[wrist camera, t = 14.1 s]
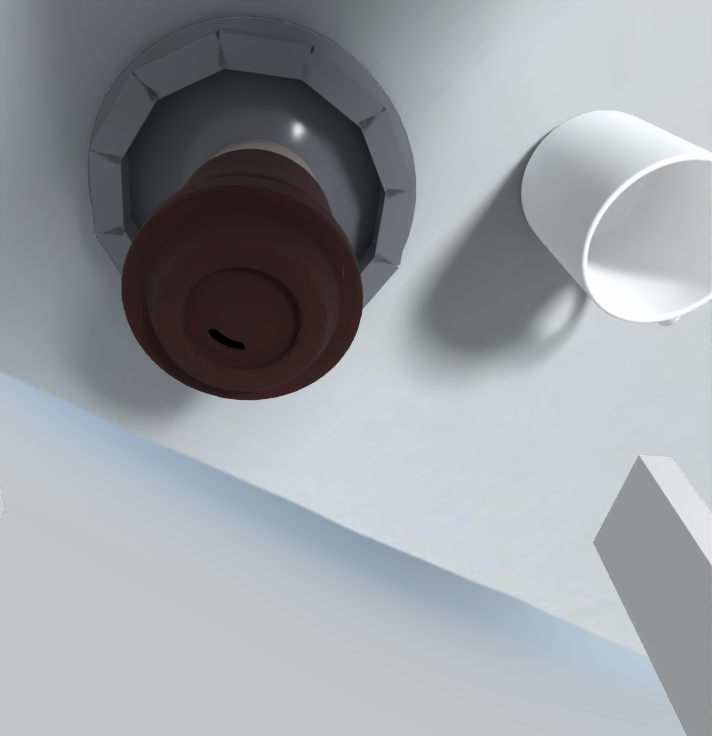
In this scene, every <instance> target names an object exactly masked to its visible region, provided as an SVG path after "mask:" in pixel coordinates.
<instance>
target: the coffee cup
mask: <svg viewBox="0 0 712 736" xmlns="http://www.w3.org/2000/svg"><path fill="white" fill-rule="evenodd" d="M122 302H123V306H124V310H125V314H126V317H127V320H128V323H129V325H130V328H131V330H132V332H133V334H134V336H135V338H136V339H137V341H138V343H139V344H140V346H141V347H142V348H143V350H144V351H145V352H146V354H147V355H148V356H149V357H150V358H151V359H152V360H153V361H154V362H155V363H156V364H157V365H158V366H159V367H160V368H161V369H163V370H164V371H165V372H166V373H168V374H169V375H170V376H172V377H173V378H175V379H177V380H178V381H180V382H181V383H183V384H185V385H187V386H189V387H191V388H194V389H196V390H199V391H201V392H204V393H207V394H211V395H215V396H218V397H222V398H228V399H236V400H261V399H268V398H275V397H279V396H283V395H286V394H290V393H293V392H296V391H298V390H300V389H302V388H304V387H306V386H308V385H310V384H312V383H314V382H315V381H317V380H318V379H320V378H321V377H323V376H324V375H325V374H326V373H328V372H329V371H330V370H331V369H332V368H333V367H334V366H335V365H336V364H337V363H338V362H339V361H340V360H341V358H342V357H343V356H344V354H345V353H346V351H347V350H348V349H349V347H350V345H351V343H352V342H353V340H354V337H355V335H356V333H357V330H358V327H359V323H360V319H361V316H362V309H363V287H362V280H361V275H360V270H359V266H358V261H357V258H356V255H355V252H354V250H353V248H352V245H351V243H350V241H349V239H348V237H347V236H346V234H345V233H344V231H343V230H342V228H341V227H340V225H339V224H338V223H337V221H336V220H335V219H334V217H333V214H332V211H331V209H330V206H329V203H328V200H327V198H326V196H325V194H324V192H323V190H322V189H321V187H320V185H319V184H318V183H317V180H316V178H315V176H314V174H313V172H312V171H311V169H310V168H309V167H308V165H307V164H306V163H305V162H304V161H303V160H302V159H301V158H300V157H299V156H298V155H297V154H295V153H294V152H293V151H291V150H290V149H288V148H286V147H284V146H282V145H279V144H277V143H274V142H270V141H265V140H245V141H240V142H236V143H233V144H231V145H228V146H226V147H224V148H223V149H221V150H220V151H218V152H217V153H216V154H215V155H213V156H212V157H211V158H210V160H209V161H208V162H206V163H205V164H203V165H202V166H201V167H200V168H199V169H198V170H197V171H195V173H194V174H193V175H192V176H191V177H190V179H189V180H188V181H187V182H186V184H185V185H184V186H183V187H182V189H181V190H180V191H177V192H176V193H175V194H173V195H172V196H170V197H169V198H167V199H166V200H165V201H163V202H162V203H161V204H160V205H159V206H158V207H157V208H156V209H155V210H154V211H153V212H152V213H151V214H150V215H149V216H148V218H147V219H146V220H145V222H144V223H143V224H142V226H141V228H140V230H139V231H138V233H137V235H136V237H135V239H134V240H133V242H132V244H131V246H130V248H129V251H128V253H127V256H126V259H125V262H124V266H123V272H122Z"/></svg>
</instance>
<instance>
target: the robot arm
mask: <svg viewBox="0 0 712 736" xmlns="http://www.w3.org/2000/svg"><path fill="white" fill-rule="evenodd" d="M4 511H5V508H4V503H3V499H2V493H1V488H0V519H1V517H2V515H3V513H4ZM593 543H594V545H595V547H596V549H597V551H598V553H599V555H600V557H601V559H602V561H603V564H604V566H605V568H606V570H607V572H608V574H609V576H610V578H611V580H612V582H613V584H614V586H615V588H616V590H617V592H618V594H619V597H620V599H621V601H622V603H623V605H624V607H625V609H626V611H627V613H628V615H629V617H630V619H631V621H632V623H633V625H634V627H635V630H636V632H637V634H638V636H639V638H640V640H641V642H642V644H643V646H644V648H645V650H646V652H647V654H648V656H649V658H650V660H651V662H652V665H653V667H654V669H655V670H656V673H657V674H658V677H659V679H660V681H661V683H662V685H663V687H664V689H665V691H666V693H667V696H668V698H669V700H670V702H671V704H672V706H673V708H674V710H675V712H676V714H677V716H678V718H679V720H680V722H681V724H682V726H683V728H684V731H685V732H686V734H687V736H712V513H711V512H710V510H709V509H708V507H707V506H706V505H705V503H704V502H703V500H702V499H701V498H700V496H699V495H698V493H697V492H696V491H695V489H694V488H693V486H692V485H691V484H690V482H689V481H688V479H687V478H686V477H685V475H684V474H683V473H682V471H681V470H680V468H679V467H678V466H677V464H676V463H675V461H674V460H673V459H672V457H660V456H647V455H639V456H638V458H637V460H636V461H635V463H634V465H633V467H632V469H631V471H630V473H629V475H628V477H627V479H626V481H625V482H624V484H623V486H622V488H621V490H620V492H619V494H618V496H617V498H616V500H615V502H614V503H613V505H612V507H611V509H610V511H609V513H608V515H607V517H606V519H605V521H604V523H603V524H602V526H601V528H600V530H599V532H598V534H597V536H596V538H595V540H594V542H593Z"/></svg>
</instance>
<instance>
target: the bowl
mask: <svg viewBox="0 0 712 736" xmlns="http://www.w3.org/2000/svg"><path fill="white" fill-rule="evenodd" d="M245 140H265V141H270V142H274V143H277V144H279V145H282V146H284V147H286V148H288V149H290V150H291V151H293V152H294V153H295V154H297V155H298V156H299V157H300V158H301V159H302V160H303V161H304V162H305V163H306V164H307V165H308V167H309V168H310V169H311V171H312V172H313V174H314V176H315V178H316V180H317V183H318V184H319V185H320V187H321V189H322V190H323V192H324V194H325V196H326V198H327V200H328V203H329V206H330V209H331V211H332V214H333V217H334V219H335V220H336V221H337V223H338V224H339V225H340V227H341V228H342V230H343V231H344V233H345V234H346V236H347V237H348V239H349V241H350V243H351V245H352V248H353V250H354V252H355V255H356V258H357V261H358V266H359V270H360V275H361V280H362V287H363V308H364V307H365V306H366V305H367V304H368V302H369V301H370V300H371V299H372V298H373V297H374V295H375V294H376V293H377V292H378V291H379V290H380V289H381V287H382V286H383V285H384V284H385V283H386V282H387V280H388V279H389V278H390V277H391V276H392V275H393V273H394V272H395V271H396V270H397V269H398V265H400V262H401V257H402V251H403V249H404V246H405V244H406V242H407V239H408V236H409V232H410V229H411V225H412V221H413V216H414V209H415V201H416V176H415V168H414V160H413V155H412V151H411V148H410V144H409V140H408V136H407V134H406V131H405V129H404V127H403V124H402V122H401V119H400V117H399V115H398V113H397V111H396V110H395V108H394V106H393V105H392V103H391V101H390V99H389V98H388V96H387V94H386V93H385V92H384V90H383V89H382V88H381V86H380V85H379V84H378V83H377V81H376V80H375V79H374V77H373V76H372V75H371V74H370V73H369V72H368V71H367V70H366V69H365V68H364V67H363V66H362V65H361V64H360V63H359V62H358V61H357V60H356V59H355V58H354V57H353V56H351V55H350V54H349V53H347V52H346V51H345V50H343V49H342V48H341V47H339V46H338V45H337V44H335V43H333V42H332V41H330V40H328V39H326V38H324V37H323V36H321V35H319V34H317V33H315V32H313V31H311V30H308V29H305V28H303V27H300V26H298V25H295V24H293V23H288V22H284V21H280V20H275V19H271V18H263V17H251V16H237V17H221V18H217V19H212V20H207V21H203V22H198V23H196V24H193V25H190V26H188V27H185V28H182V29H180V30H177V31H175V32H173V33H172V34H170V35H168V36H166V37H165V38H163V39H161V40H160V41H158V42H156V43H154V44H153V45H152V46H150V47H149V48H148V49H147V50H145V51H144V52H143V53H142V54H140V55H139V56H138V57H137V58H135V59H134V60H133V61H132V62H131V64H130V65H129V66H128V67H127V68H126V69H125V70H124V71H123V72H122V74H121V75H120V76H119V77H118V79H117V80H116V82H115V83H114V85H113V86H112V88H111V89H110V91H109V92H108V94H107V95H106V97H105V100H104V102H103V104H102V106H101V108H100V110H99V113H98V115H97V118H96V121H95V125H94V128H93V132H92V135H91V140H90V147H89V155H88V184H89V191H90V198H91V204H92V207H93V219H94V232H95V233H98V234H97V235H96V237H97V239H98V240H99V242H100V243H101V245H102V246H103V248H104V249H105V251H106V252H107V254H108V255H109V257H110V258H111V260H112V261H113V263H114V264H115V266H116V267H117V269H118V270H119V272H120V273H121V275H122V272H123V266H124V262H125V259H126V256H127V253H128V251H129V248H130V246H131V244H132V242H133V240H134V239H135V237H136V235H137V233H138V231H139V230H140V228H141V226H142V224H143V223H144V222H145V220H146V219H147V218H148V216H149V215H150V214H151V213H152V212H153V211H154V210H155V209H156V208H157V207H158V206H159V205H160V204H161V203H162V202H163V201H165V200H166V199H167V198H169V197H170V196H172V195H173V194H175V193H176V192H177V191H180V190H181V189H182V187H183V186H184V185H185V184H186V182H187V181H188V180H189V179H190V177H191V176H192V175H193V174H194V173H195V171H197V170H198V169H199V168H200V167H201V166H202V165H203V164H205V163H206V162H208V161H209V160H210V158H211V157H212V156H213V155H215V154H216V153H217V152H218V151H220V150H221V149H223V148H224V147H226V146H228V145H231V144H233V143H236V142H240V141H245Z"/></svg>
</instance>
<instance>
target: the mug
mask: <svg viewBox="0 0 712 736" xmlns="http://www.w3.org/2000/svg"><path fill="white" fill-rule="evenodd" d="M521 200H522V207H523V210H524V214H525V217H526V219H527V221H528V224H529V225H530V227H531V228H532V230H533V231H534V233H535V234H536V235H537V237H538V238H539V239H540V240H541V241H542V242H543V244H544V245H545V246H546V247H547V248H548V249H549V251H550V252H551V253H552V254H553V255H554V256H555V258H556V259H557V260H558V261H559V262H560V263H561V264H562V266H563V267H564V268H565V269H566V270H567V271H568V273H569V274H570V275H571V276H572V277H573V278H574V280H575V281H576V282H577V283H578V284H579V285H580V286H581V288H582V289H583V290H584V291H585V292H586V293H587V295H588V296H589V297H590V298H591V299H592V300H593V301H594V303H595V304H596V305H597V306H598V307H599V308H601V309H602V310H603V311H604V312H606V313H607V314H609V315H611V316H613V317H615V318H618V319H621V320H624V321H629V322H635V323H654V322H658V323H659V324H660V325H662V326H671V325H673V324H675V323H676V322H677V321H678V320H679V318H680V317H681V315H684V314H687V313H689V312H691V311H693V310H695V309H696V308H698V307H700V306H701V305H703V304H705V303H706V302H708V301H709V300H710V299H712V153H711V152H708V151H706V150H704V149H702V148H700V147H698V146H696V145H694V144H692V143H689V142H687V141H685V140H683V139H681V138H679V137H677V136H675V135H673V134H670V133H668V132H666V131H664V130H662V129H660V128H658V127H656V126H654V125H651V124H649V123H647V122H645V121H643V120H641V119H639V118H636V117H634V116H632V115H629V114H626V113H622V112H618V111H609V110H605V111H593V112H587V113H584V114H581V115H578V116H576V117H573V118H571V119H569V120H567V121H566V122H564V123H562V124H561V125H559V126H558V127H557V128H555V129H554V130H553V131H552V132H551V133H549V134H548V135H547V136H546V137H545V138H544V139H543V141H542V142H541V143H540V144H539V145H538V147H537V148H536V150H535V151H534V153H533V154H532V156H531V158H530V160H529V162H528V164H527V167H526V169H525V172H524V176H523V180H522V187H521Z"/></svg>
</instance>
